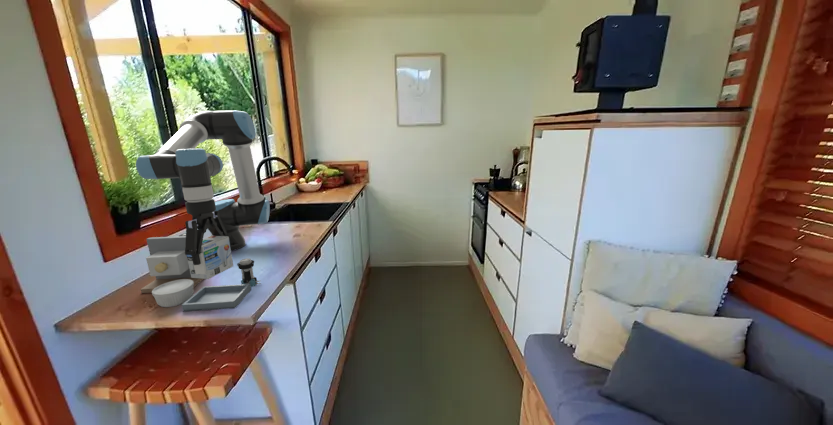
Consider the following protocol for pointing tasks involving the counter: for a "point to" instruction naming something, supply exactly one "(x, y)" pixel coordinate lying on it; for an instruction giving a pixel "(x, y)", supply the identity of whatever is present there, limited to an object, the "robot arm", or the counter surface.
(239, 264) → the push button
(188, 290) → the ramekin
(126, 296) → the counter surface
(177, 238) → the mounted unit
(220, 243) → the light bulb box
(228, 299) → the tray
